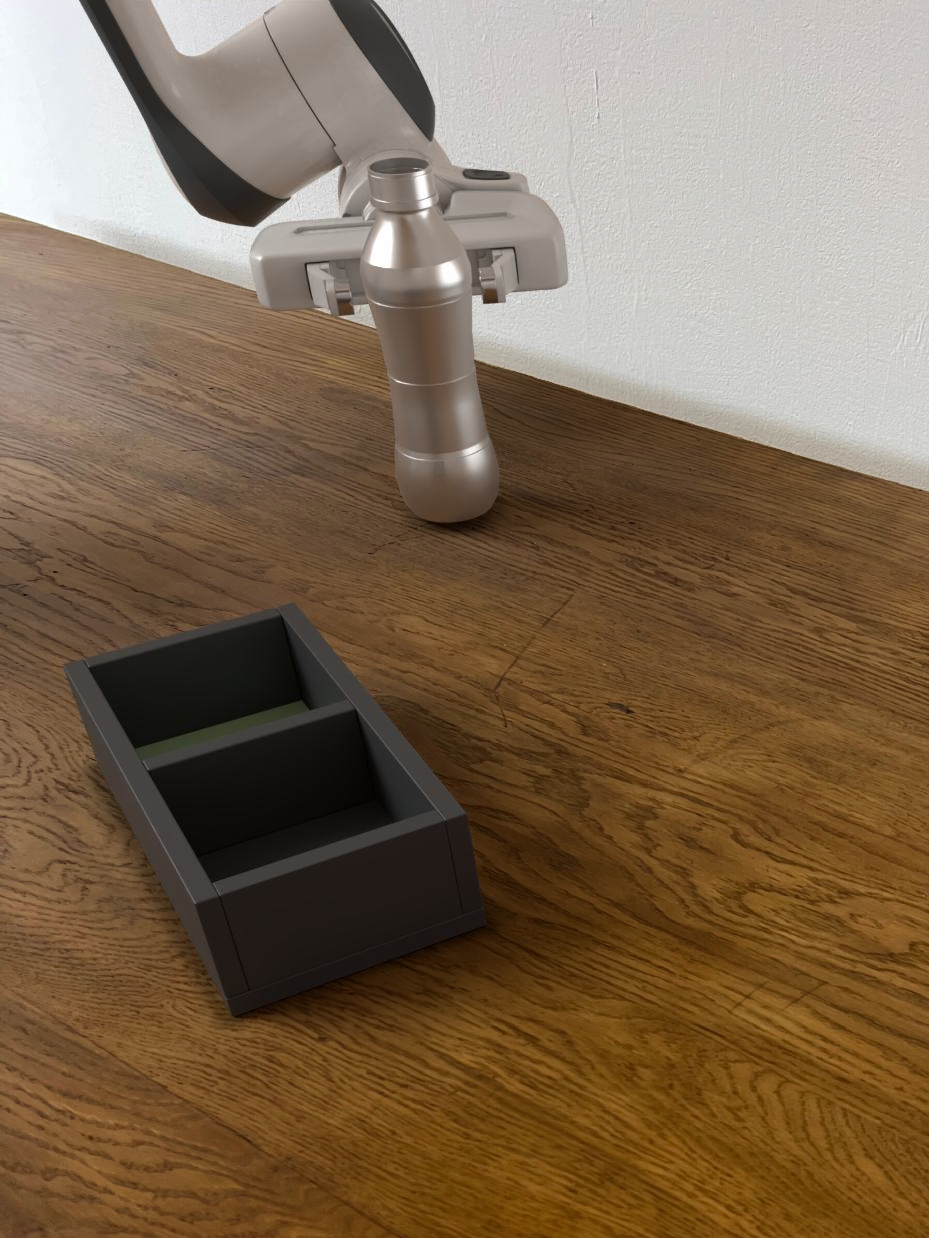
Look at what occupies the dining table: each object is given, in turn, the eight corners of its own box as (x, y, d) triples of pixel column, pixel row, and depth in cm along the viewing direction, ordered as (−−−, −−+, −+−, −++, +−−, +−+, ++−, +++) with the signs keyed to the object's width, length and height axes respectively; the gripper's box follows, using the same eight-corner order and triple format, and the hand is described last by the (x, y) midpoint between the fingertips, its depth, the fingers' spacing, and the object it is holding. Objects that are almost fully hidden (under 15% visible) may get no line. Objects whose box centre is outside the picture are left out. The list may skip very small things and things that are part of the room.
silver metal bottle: (490, 483, 104) (443, 144, 90) (516, 526, 99) (470, 174, 86) (393, 500, 102) (330, 156, 89) (414, 543, 98) (351, 188, 84)
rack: (232, 1017, 66) (194, 904, 62) (100, 770, 79) (61, 663, 75) (487, 925, 70) (467, 813, 66) (319, 705, 84) (294, 601, 80)
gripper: (239, 192, 105) (234, 255, 95) (547, 170, 108) (572, 230, 98) (261, 292, 109) (258, 363, 99) (556, 269, 112) (582, 335, 102)
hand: (417, 296), depth 99 cm, fingers open, 8 cm apart
